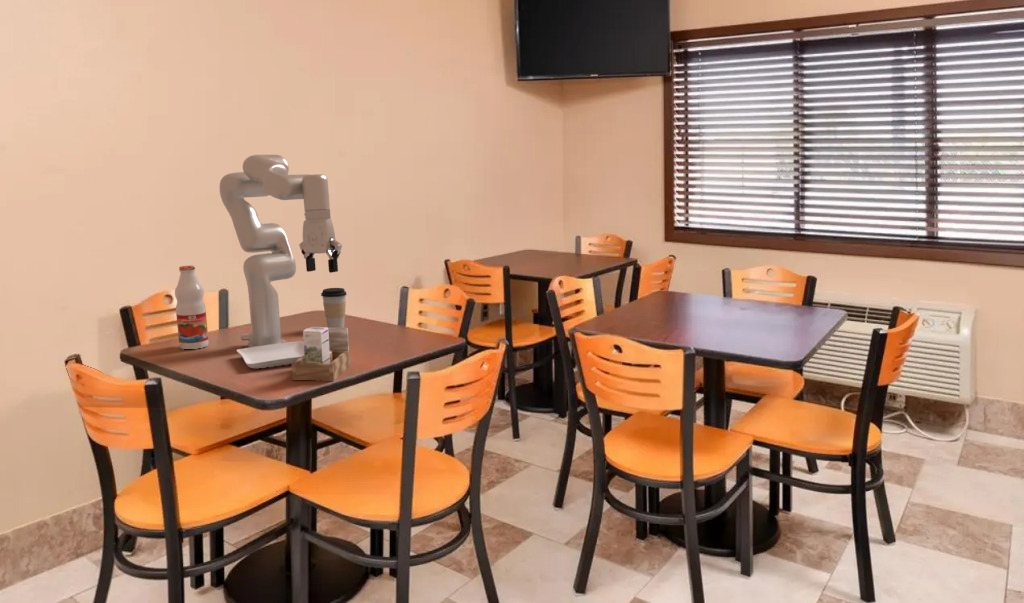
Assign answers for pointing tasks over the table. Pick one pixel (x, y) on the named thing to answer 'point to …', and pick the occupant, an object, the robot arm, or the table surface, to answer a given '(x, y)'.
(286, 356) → the salad plate
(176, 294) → the fruit juice
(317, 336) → the syrup box
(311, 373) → the wooden box
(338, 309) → the coffee cup
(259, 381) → the table surface
